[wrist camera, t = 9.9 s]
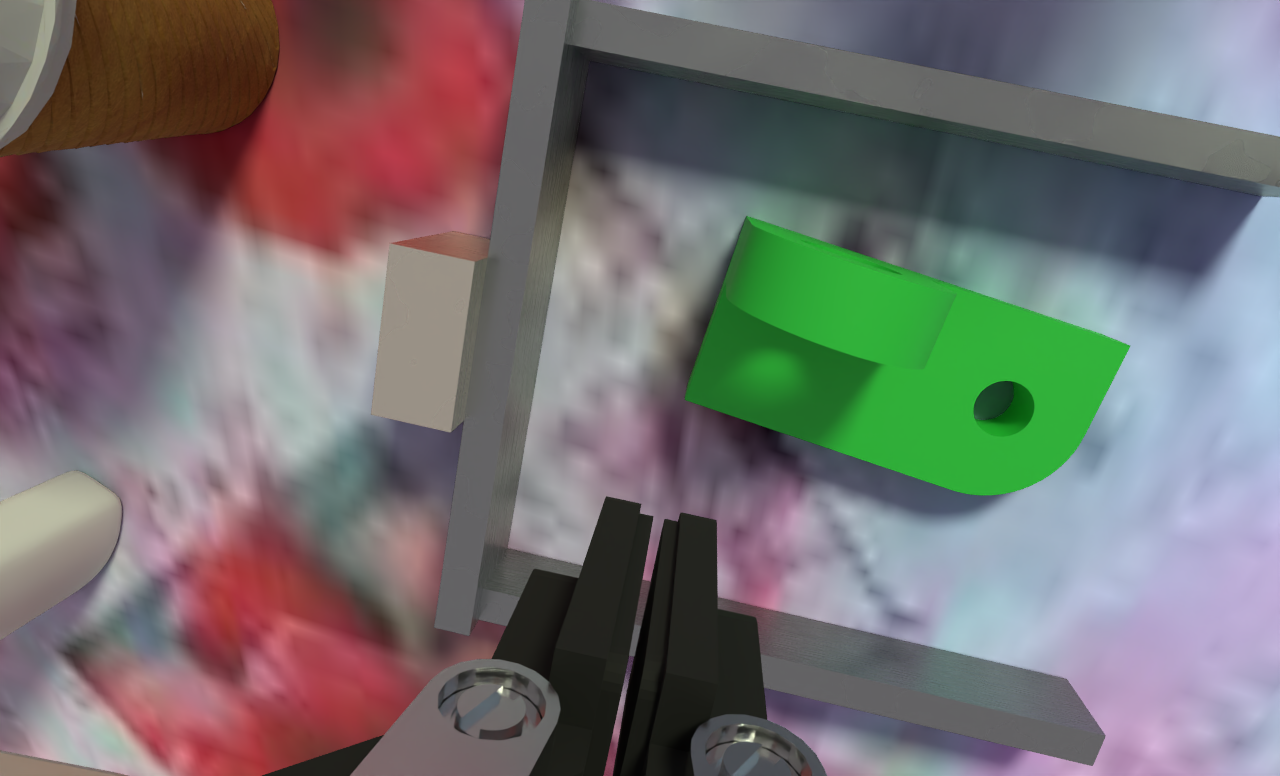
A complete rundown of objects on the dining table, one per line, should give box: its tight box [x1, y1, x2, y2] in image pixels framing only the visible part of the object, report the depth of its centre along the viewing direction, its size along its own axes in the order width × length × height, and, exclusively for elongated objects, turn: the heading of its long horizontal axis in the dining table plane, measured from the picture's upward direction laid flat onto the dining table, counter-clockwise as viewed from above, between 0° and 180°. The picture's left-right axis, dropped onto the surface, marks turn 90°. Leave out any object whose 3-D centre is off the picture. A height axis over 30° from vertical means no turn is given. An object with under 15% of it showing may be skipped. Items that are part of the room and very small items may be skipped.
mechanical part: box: [685, 216, 1130, 495], centre depth 22 cm, size 12×6×8 cm, turn 72°
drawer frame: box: [371, 0, 1280, 766], centre depth 24 cm, size 24×20×5 cm
